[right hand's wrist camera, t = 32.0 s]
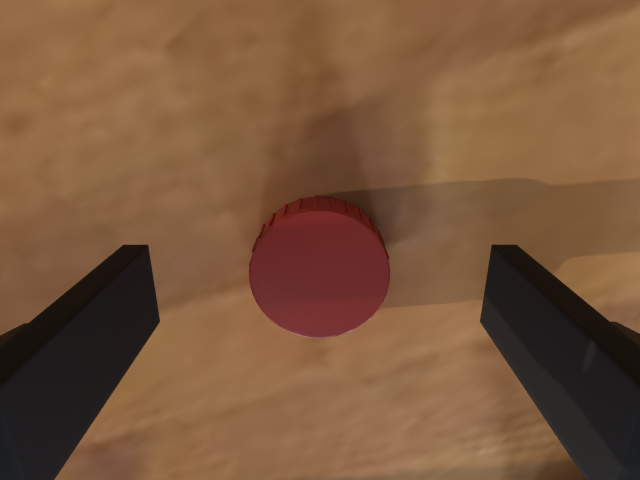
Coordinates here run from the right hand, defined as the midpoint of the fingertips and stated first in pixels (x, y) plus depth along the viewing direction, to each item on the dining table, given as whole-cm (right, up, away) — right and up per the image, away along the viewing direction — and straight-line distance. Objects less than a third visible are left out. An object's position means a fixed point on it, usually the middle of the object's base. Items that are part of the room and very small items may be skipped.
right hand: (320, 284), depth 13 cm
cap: (0, 0, +1) cm, 1 cm away
